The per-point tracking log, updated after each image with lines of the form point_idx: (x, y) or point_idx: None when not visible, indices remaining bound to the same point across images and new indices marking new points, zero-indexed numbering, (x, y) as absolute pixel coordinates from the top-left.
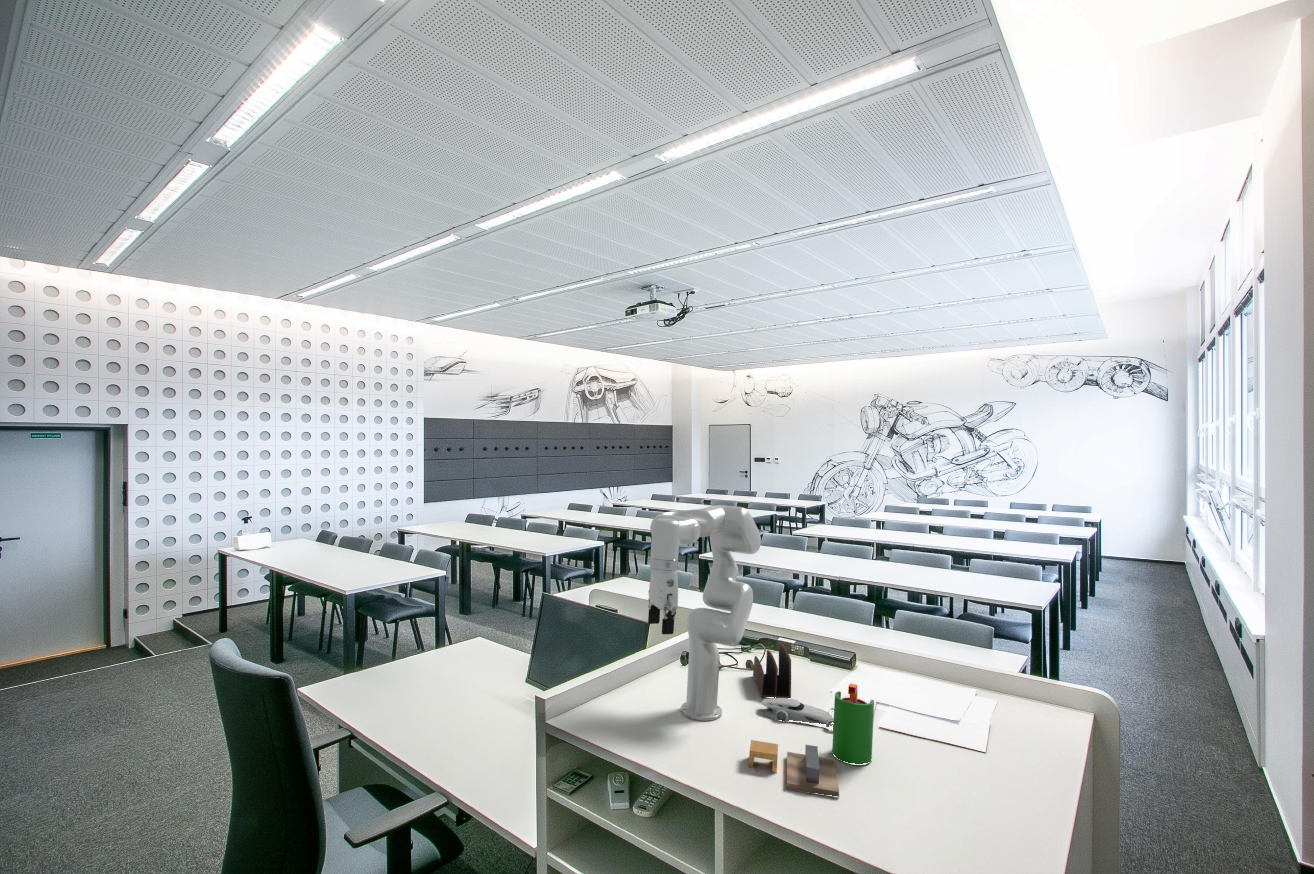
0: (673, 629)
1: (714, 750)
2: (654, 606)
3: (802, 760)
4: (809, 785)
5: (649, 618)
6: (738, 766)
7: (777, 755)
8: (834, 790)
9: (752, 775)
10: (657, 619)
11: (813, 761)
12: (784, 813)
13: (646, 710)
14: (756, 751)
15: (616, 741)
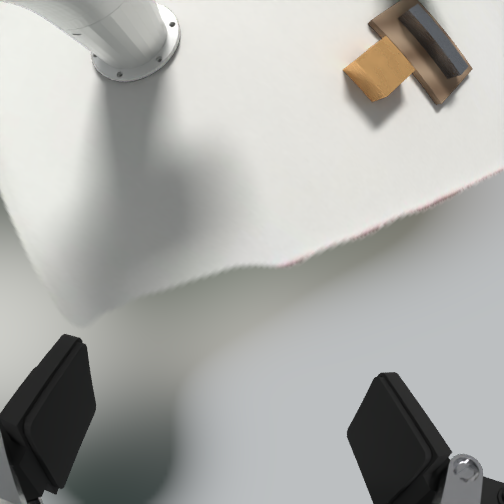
0: (407, 390)
1: (293, 109)
2: (23, 484)
3: (401, 26)
4: (454, 83)
5: (81, 435)
6: (360, 113)
7: (414, 70)
8: (469, 69)
9: (391, 115)
10: (74, 375)
11: (451, 51)
12: (466, 157)
13: (76, 149)
14: (394, 89)
15: (175, 273)
